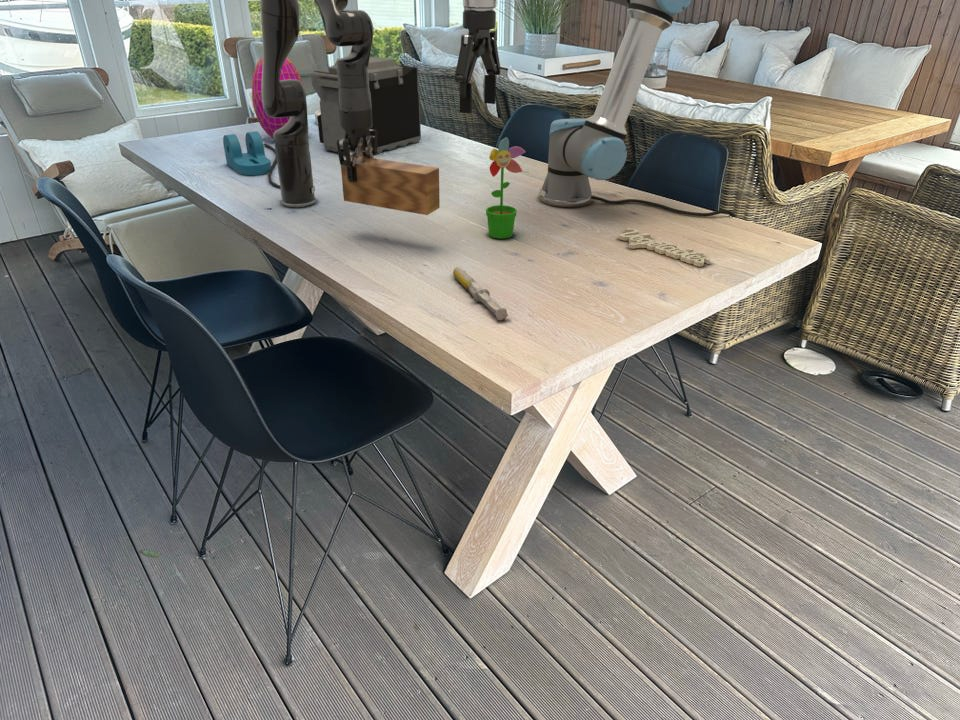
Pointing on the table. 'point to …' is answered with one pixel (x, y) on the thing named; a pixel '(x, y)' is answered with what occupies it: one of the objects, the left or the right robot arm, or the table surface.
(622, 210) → the table surface
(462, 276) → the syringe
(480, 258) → the table surface
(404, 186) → the box
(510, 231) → the potted flower
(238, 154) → the camera mount
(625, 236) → the decorative sign
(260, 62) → the decorative egg
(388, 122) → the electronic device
